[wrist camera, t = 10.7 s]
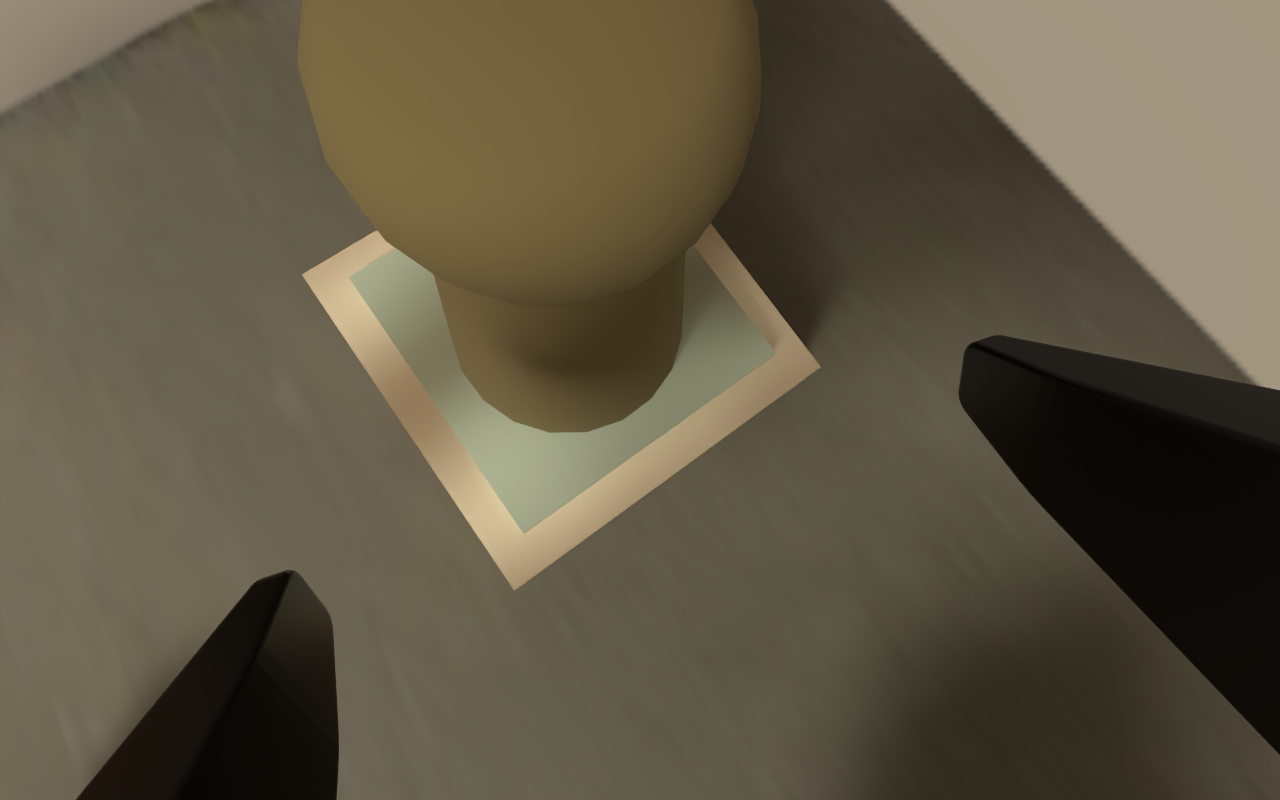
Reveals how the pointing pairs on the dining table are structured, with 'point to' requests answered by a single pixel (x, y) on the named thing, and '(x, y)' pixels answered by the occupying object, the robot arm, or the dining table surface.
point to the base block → (570, 461)
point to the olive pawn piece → (541, 174)
